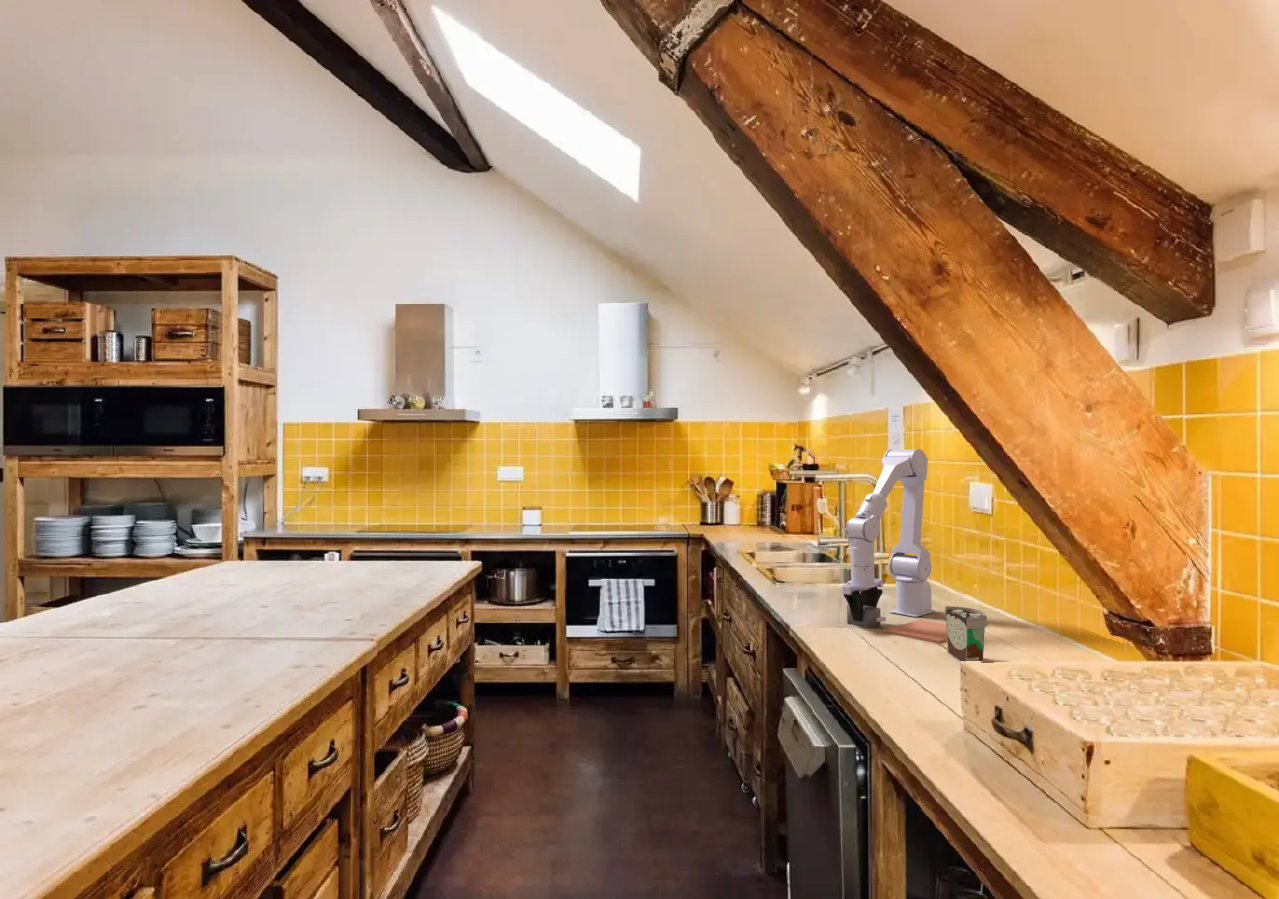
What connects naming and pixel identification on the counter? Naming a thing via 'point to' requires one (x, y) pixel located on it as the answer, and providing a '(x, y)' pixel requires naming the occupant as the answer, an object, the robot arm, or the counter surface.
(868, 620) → the plug
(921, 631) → the mat
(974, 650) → the food container
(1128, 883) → the counter surface
